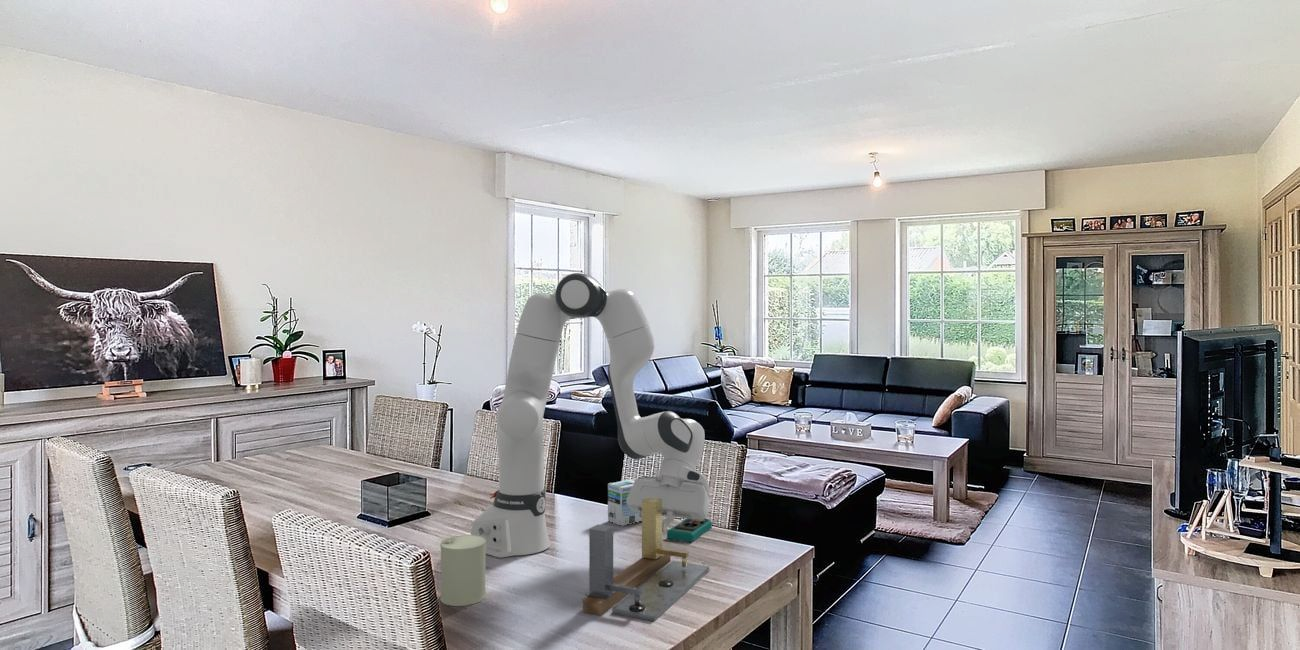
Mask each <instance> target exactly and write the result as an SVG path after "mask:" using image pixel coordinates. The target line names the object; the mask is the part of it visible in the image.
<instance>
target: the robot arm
mask: <svg viewBox="0 0 1300 650" xmlns="http://www.w3.org/2000/svg"><path fill="white" fill-rule="evenodd" d="M519 317H520V318H519V320H518V325H517V328H516V333H515V336H514V340H513V344H512V350H511V354H510V359H509V364H508V368H507V376H506V382H505V386H504V392H503V397H502V400H501V403H500V405H499V406H498V407H497V411H496V432H497V434H496V435H497V451H498V490H496V491H495V492H492V493H490V494H489V496H490V497H489V500H491V499H493V498H494V499H493V502H492V505H490V506H489V507H488V508H487V509H486V510H485V511H483V512H482V513H481V514H480V515H478V516H476V518H474V520H473V522H472V525H471V527H470V535H473V536H480V537H483V538H484V539H485V540H486V550H485V555H489V556H493V557H495V558H508V557H513V556H525V555H531V554H537V553H540V552H543V551H545V550H547V549H549V548H550V546H551V541H550V537H549V534H548V530H547V529H548V528H547V523H546V514H545V511H546V488H544V487H545V486H544V485H545V484H544V483H545V482H544V480H545V477H544V476H545V475H544V474H545V473H544V470H545V468H544V467H545V464H544V459H545V458H544V457H545V456H544V416H545V415H544V414H545V409H546V405H547V400H548V396H549V390H550V387H551V382H552V380H553V379H552V378H553V374H554V369H555V365H556V360H557V356H558V352H559V347H560V342H561V338H562V337H561V336H562V332H563V330H564V326H565V324H566V323H567V321H569V320H576V319H580V320H581V319H588V318H595V319H597V320H598V321H599V323H600V325H601V326H602V328H603V331H604V334H605V337H606V340H607V343H608V348H609V355H610V356H609V357H610V359H609V363H608V366H607V379H608V382H609V384H608V385H609V389H610V394H611V398H612V403H613V408H614V412H615V418H616V424H617V425H616V426H617V440H618V445H619V447H620V449H621V451H622V452H623V453H624V454H625V455H626V456H627V457H629V458H630V459H632V460H641V459H645V458H647V457H650V456H651V455H652V456H653V455H657V454H661V455H662V456H663V460H662V462H661V464H660V467H659V470H658V473H657V475H656V476H647V475H642V476H640V477H637V479H636V480H635V482H634V484H633V487H632V489H631V491H630V493H629V495H628V497H627V500H626V503H627V505H628V507H629V508H630V510H631V511H635V512H642V500H644V499H646V498H648V497H652V498H660V499H662V516H666V517H665V519H664V520H662V533H663V532H665V533H666V532H667V529H668V526H670V524H671V523H673V522H674V520H675V518H681V519H683V518H684V519H686V518H689V519H696V520H703V519H707V516H708V513H709V509H710V497H709V496H710V493H711V487H710V484H709V482H708V479H707V478H706V476H705V475H704V474H702V473H700V472H697V466H698V464H699V463H700V462H701V458H702V455H703V451H704V446H705V429H704V428H703V426H702V425H701V424H700V423H699V422H697V421H696V420H694V419H693V418H692V419H691V418H681V417H680V416H679V415H678V414H677V413H675V412H674V411H671V410H667V411H662V412H658V413H652V414H650V415H648V416H642V417H641V416H640V414H639V410H638V405H637V401H636V395H635V391H634V381H635V378H636V376H637V374H638V373H639V372H640V371H641V370H642V368H644V367H645V365H647V364H648V362H649V361H650V359H651V358H652V356H653V354H654V351H655V341H654V336H653V333H652V330H651V327H650V325H649V322H648V319H647V317H646V314H645V312H644V310H643V308H642V306H641V304H640V302H639V300H638V299H637V297H636V294H635V293H633V291H631V290H628V289H622V288H618V289H614V290H610V291H607V290H605V288H604V287H603V286H602V285H601V283H600V282H599V281H598V280H597V279H596V278H595V277H593V276H591V275H589V274H586V273H581V272H574V273H571V274H568V275H566V276H564V277H562V278H561V280H560V281H558V283H557V286H556V288H555V293H546V292H541V293H540V292H539V293H534V294H532V295H531V296H529V297H528V299H527V300H526V302H525V304H524V306H523V309H522V312H521V314H520V316H519Z"/></svg>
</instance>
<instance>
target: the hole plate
mask: <svg viewBox="0 0 1300 650" xmlns="http://www.w3.org/2000/svg"><path fill="white" fill-rule="evenodd" d="M709 572H710V566H709V565H702V564H696V563H690V562H687V567H682V561H678V560H672V561H670V562H669V563H668V564H666V565H665V566H664V567H663V568H661V569H660V570H659V571H657V572H656V573H655V574H654V575H652V576H651V577H650V578H648V579H647V580H646V581H644V582H643V583H642V584H641V585H639V586H638V588H642V594H641V595H640V606H635V595H632V594H628V595H626V596H625V597H624V598H623V599H621V600H620V601H619V602H617V603H616V604H615V605H614V606H612V607H611V608H612V609H611V612H612V614H615V615H620V616H625V617H631V618H634V619H635V618H636V619H640V620H645V621H650V622H655V621H656V620H657V619H659V617H660V616H662V615H663V614H664V613H665V612H666V611H667V610H668V609H670V607H672V606H673V605H674V604H675V602H677V601H678V600H679V599H680V598H681V597H682V596H684V595H685V594H686V593H687V592H688V591H689V590H690V589H691V588H692V587H693V586H694V585H696V584H697V583H698V582H699V581H701V580H702V578H703V577H705V576H706V574H707V573H709Z"/></svg>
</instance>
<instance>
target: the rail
mask: <svg viewBox="0 0 1300 650" xmlns="http://www.w3.org/2000/svg"><path fill="white" fill-rule="evenodd" d="M669 563H671V556H670V555H664V554H662V555H661V556H660V557H658V558H657V559H650V558H643V557H642V556H641V557H640V558H639V559H638V560H636V561H635V562H634V563H633V564H630V566H628V567H627V568H625V569H623V570H622V571H621V572H619V573H618V574H617V575H615V576H613V583H614V584H620V585H625V586H631V587H636V588H639V587H640V586H641V585H642V584H644V583H645V582H646V581H648V580H649V579H650V578H651V577H653V576H654V575H655V574H657V573H658V572H659V571H660V570H662V569H663V568H664V567H665V566H667V565H668V564H669ZM628 595H629V594H627V593H622V592H617V593H615V594H614V595H613V596H611V597H610V598H609V599H607V600H605V599H599V598H594V597H589V596H585V597H584V598H583V599H582V613H586V614H591V615H596V616H602V615H603V614H604V613H606V612H607V611H609V610H610V609H611V608H613V607H614V606H616V605H617V604H618V603H619V602H621V601H622V600H623V599H624V598H626V597H627V596H628Z"/></svg>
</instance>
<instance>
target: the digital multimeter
mask: <svg viewBox="0 0 1300 650" xmlns="http://www.w3.org/2000/svg"><path fill="white" fill-rule="evenodd" d="M710 528H711V529H712V528H713V522H712V520H710V519H708V518H705V519H703V520H696V519H689V518H684V519H683V521H681V522H679V523H678V524H676V525H675V526H673V527H671V528H669V529H668V530H666V538H667V539H668V538H669V540H672V539H675V540H674V541H677V540H681V541H680V542H685V541H688V542H687V543H693V542H695V541H696V540H697V539H699V538H700V537H701V536H703V533H704V534H706V533H707V532H708V531H710V530H711V529H710ZM709 529H710V530H709ZM699 536H700V537H699Z"/></svg>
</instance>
